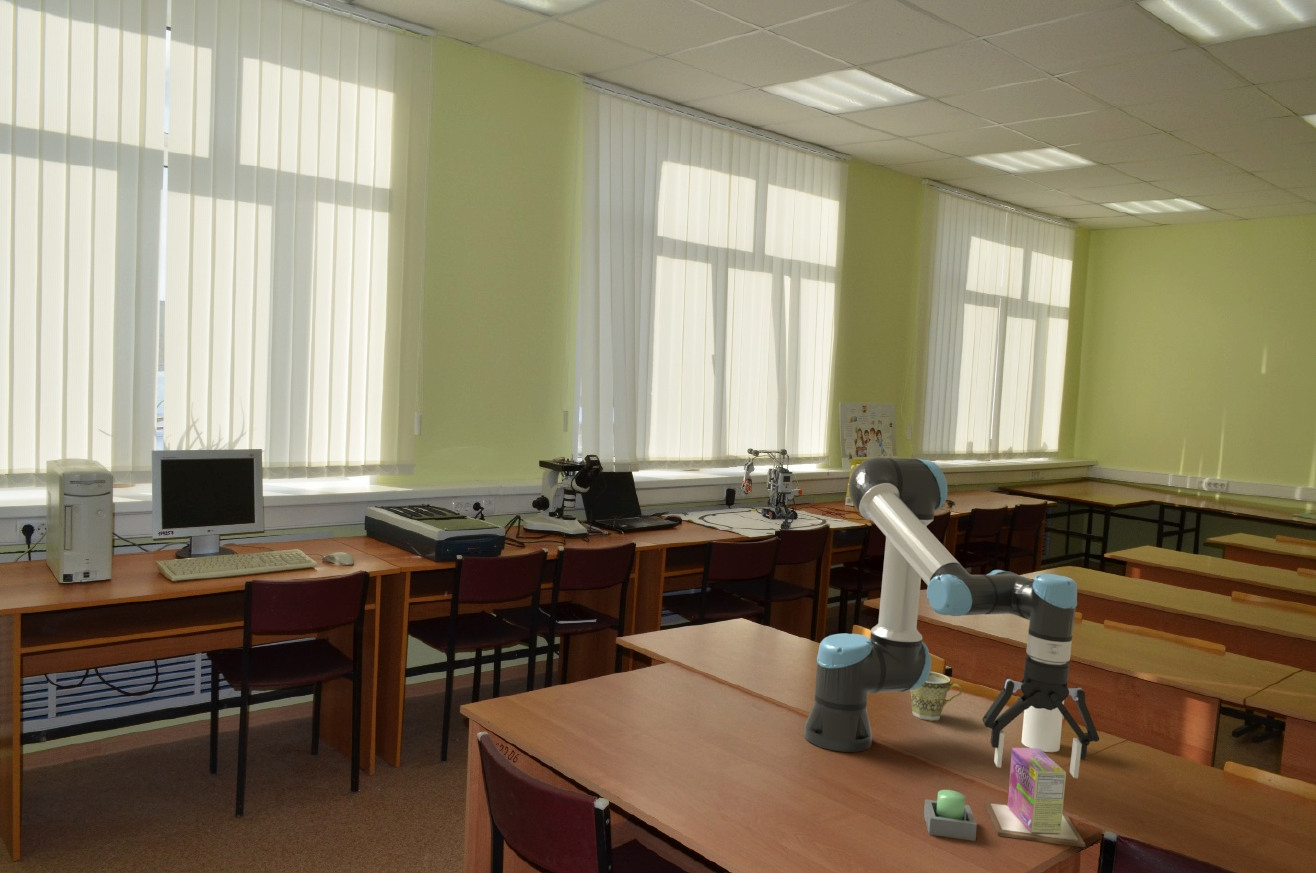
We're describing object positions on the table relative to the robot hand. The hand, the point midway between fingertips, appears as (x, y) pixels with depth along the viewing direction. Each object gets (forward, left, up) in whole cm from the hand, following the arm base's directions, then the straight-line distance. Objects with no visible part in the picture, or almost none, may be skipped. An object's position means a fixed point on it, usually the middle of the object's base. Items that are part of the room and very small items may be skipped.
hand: (1035, 769), depth 172 cm
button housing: (-16, -6, -10) cm, 20 cm away
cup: (+12, +45, -11) cm, 47 cm away
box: (0, 0, -10) cm, 10 cm away
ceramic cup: (-11, +56, -11) cm, 58 cm away
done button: (-16, -6, -9) cm, 19 cm away
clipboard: (0, 0, -10) cm, 10 cm away
